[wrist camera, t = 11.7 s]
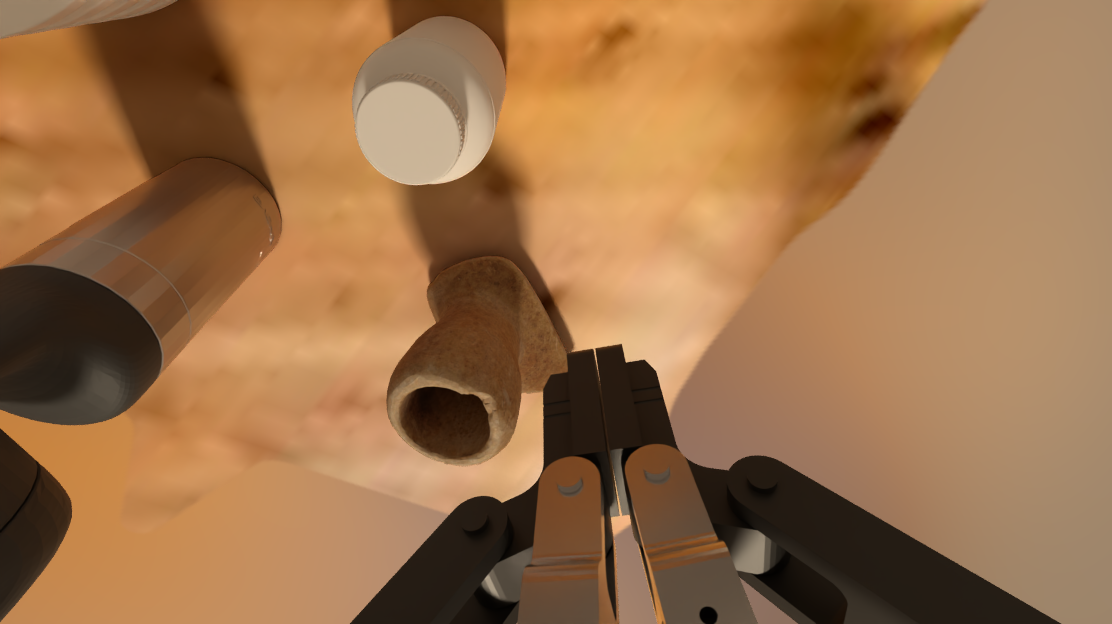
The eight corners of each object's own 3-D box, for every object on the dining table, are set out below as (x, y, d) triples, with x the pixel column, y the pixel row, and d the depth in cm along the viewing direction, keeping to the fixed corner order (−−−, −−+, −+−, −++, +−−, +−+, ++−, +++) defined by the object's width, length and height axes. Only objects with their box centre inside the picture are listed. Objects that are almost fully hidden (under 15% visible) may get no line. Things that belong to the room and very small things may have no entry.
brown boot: (394, 280, 49) (344, 394, 36) (515, 235, 46) (506, 340, 34) (469, 395, 57) (449, 520, 44) (575, 361, 54) (586, 484, 42)
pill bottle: (372, 57, 38) (291, 109, 26) (462, -11, 36) (422, 9, 24) (442, 152, 42) (401, 236, 30) (527, 95, 40) (522, 160, 27)
